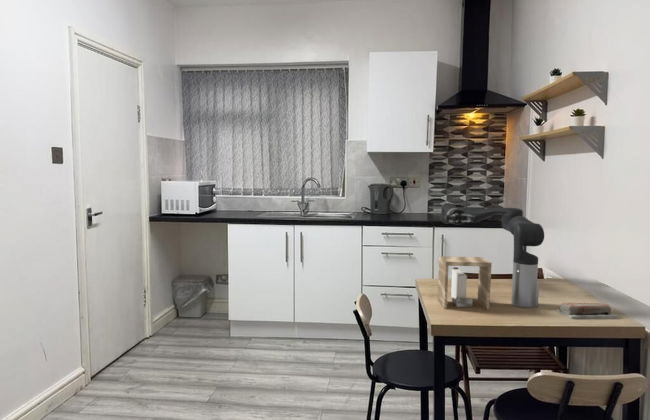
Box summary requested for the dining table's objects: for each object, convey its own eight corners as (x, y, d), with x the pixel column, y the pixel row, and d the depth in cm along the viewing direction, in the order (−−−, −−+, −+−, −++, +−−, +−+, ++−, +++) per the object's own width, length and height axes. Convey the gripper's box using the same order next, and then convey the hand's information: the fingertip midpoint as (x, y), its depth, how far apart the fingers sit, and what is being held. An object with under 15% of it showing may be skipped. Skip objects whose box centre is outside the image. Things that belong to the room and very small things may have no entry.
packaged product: (571, 307, 175) (556, 300, 185) (571, 320, 176) (556, 312, 186) (618, 307, 176) (601, 300, 186) (618, 320, 177) (600, 312, 187)
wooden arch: (480, 301, 198) (481, 257, 196) (489, 309, 186) (491, 262, 185) (437, 300, 198) (439, 256, 197) (444, 308, 186) (445, 261, 185)
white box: (458, 297, 205) (459, 269, 204) (465, 304, 193) (466, 275, 192) (451, 296, 205) (452, 269, 204) (458, 304, 193) (459, 275, 192)
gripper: (441, 208, 231) (449, 210, 215) (471, 208, 231) (481, 211, 215) (440, 223, 232) (448, 227, 216) (470, 224, 232) (480, 228, 216)
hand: (464, 219), depth 215 cm, fingers open, 8 cm apart
